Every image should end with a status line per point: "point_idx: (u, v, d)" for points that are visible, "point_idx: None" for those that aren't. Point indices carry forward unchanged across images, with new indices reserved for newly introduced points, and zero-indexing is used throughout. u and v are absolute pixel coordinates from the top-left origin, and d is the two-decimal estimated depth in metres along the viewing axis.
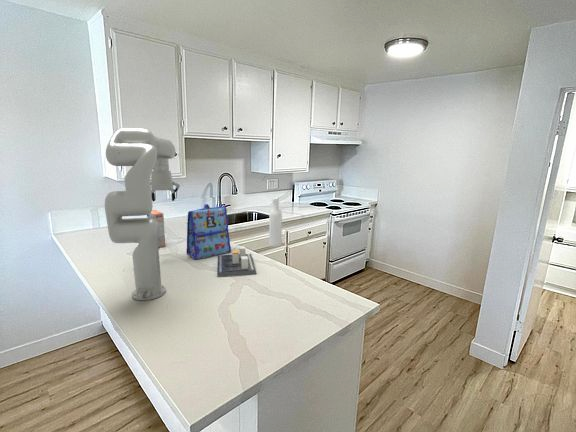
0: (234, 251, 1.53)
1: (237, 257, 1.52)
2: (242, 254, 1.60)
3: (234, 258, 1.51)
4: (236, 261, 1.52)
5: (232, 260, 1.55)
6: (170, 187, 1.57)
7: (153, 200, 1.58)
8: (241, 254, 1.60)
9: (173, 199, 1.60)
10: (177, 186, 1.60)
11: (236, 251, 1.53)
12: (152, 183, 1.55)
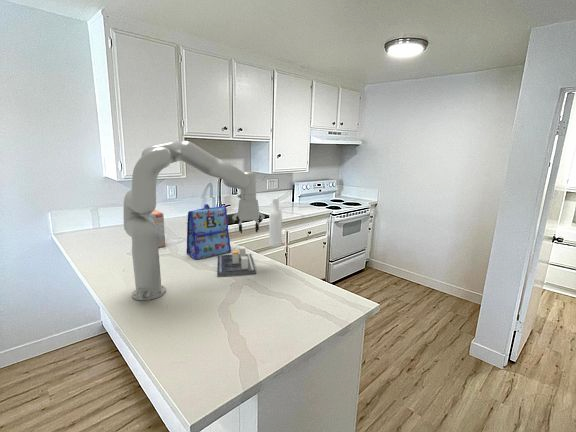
0: (234, 251, 1.53)
1: (237, 257, 1.52)
2: (242, 254, 1.60)
3: (234, 258, 1.51)
4: (236, 261, 1.52)
5: (232, 260, 1.55)
6: (258, 217, 1.49)
7: (241, 232, 1.50)
8: (241, 254, 1.60)
9: None
10: (262, 217, 1.52)
11: (236, 251, 1.53)
12: (240, 213, 1.47)
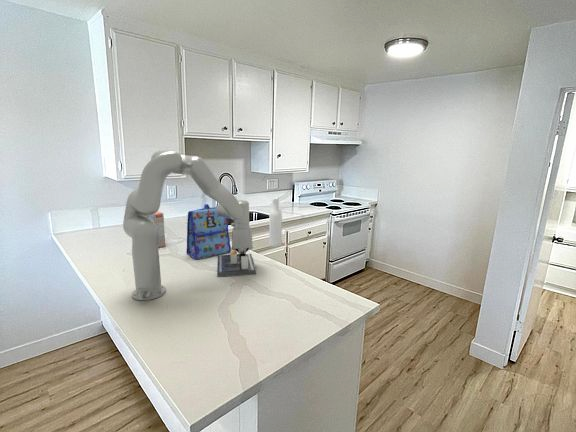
0: (232, 251, 1.53)
1: (235, 257, 1.51)
2: None
3: (233, 258, 1.51)
4: (234, 261, 1.52)
5: None
6: (251, 245, 1.51)
7: None
8: None
9: None
10: None
11: (234, 251, 1.53)
12: (233, 241, 1.49)
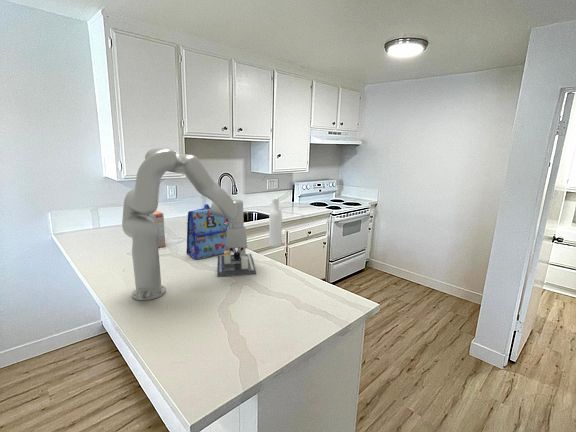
0: (226, 251, 1.52)
1: (229, 258, 1.51)
2: (242, 254, 1.60)
3: (226, 258, 1.51)
4: (228, 262, 1.51)
5: None
6: (245, 244, 1.51)
7: (236, 259, 1.52)
8: (241, 254, 1.60)
9: (238, 258, 1.53)
10: None
11: (228, 251, 1.52)
12: (227, 241, 1.48)
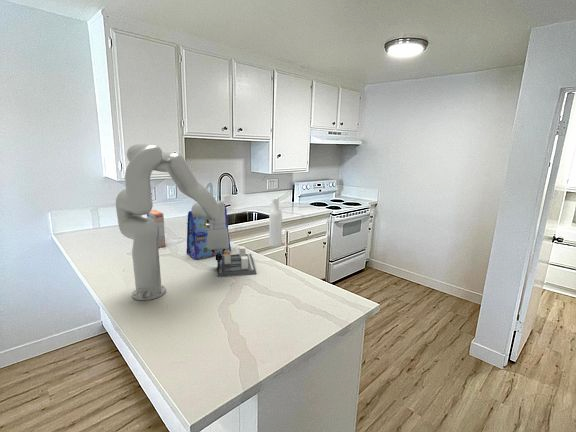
0: (226, 251, 1.52)
1: (229, 258, 1.51)
2: (242, 254, 1.60)
3: (226, 258, 1.51)
4: (228, 262, 1.51)
5: None
6: (227, 246, 1.49)
7: (218, 261, 1.50)
8: (241, 254, 1.60)
9: None
10: None
11: (228, 251, 1.52)
12: (208, 242, 1.47)
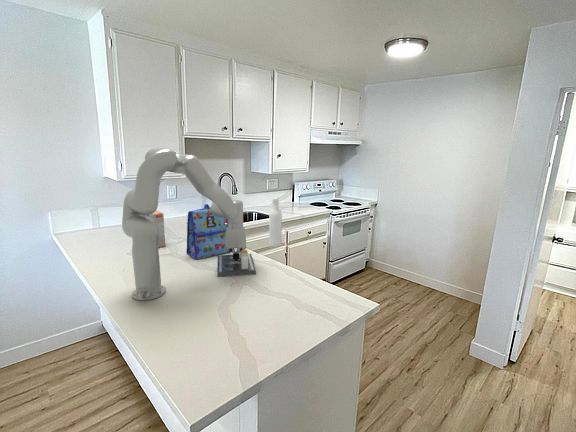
0: (243, 250, 1.54)
1: None
2: None
3: None
4: None
5: None
6: (245, 245, 1.51)
7: (235, 260, 1.52)
8: None
9: (237, 259, 1.53)
10: (244, 247, 1.53)
11: (245, 250, 1.54)
12: (227, 241, 1.48)
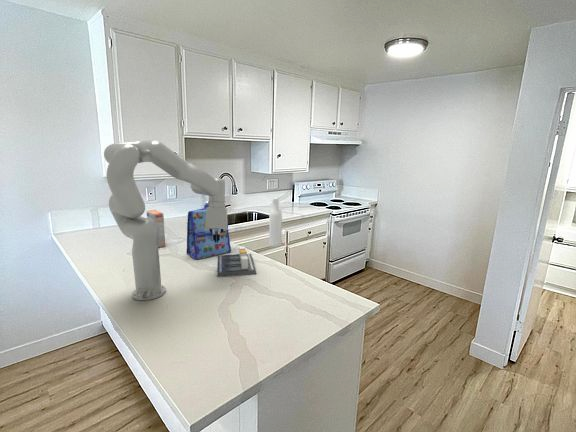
0: (242, 251, 1.54)
1: None
2: None
3: None
4: None
5: (240, 259, 1.56)
6: (225, 226, 1.44)
7: (215, 241, 1.45)
8: None
9: (218, 240, 1.46)
10: (225, 228, 1.46)
11: (244, 251, 1.54)
12: (207, 221, 1.42)
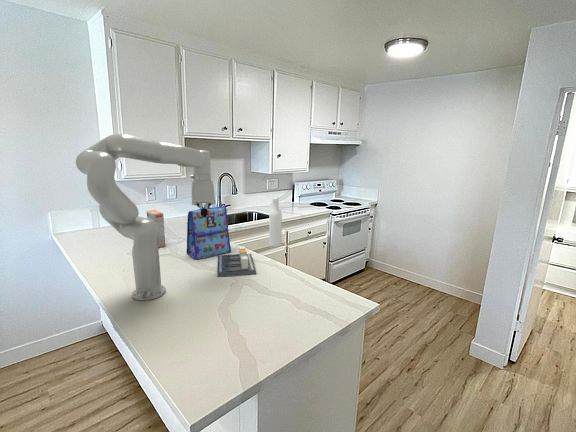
0: (242, 251, 1.54)
1: None
2: None
3: None
4: None
5: (240, 259, 1.56)
6: (213, 199, 1.39)
7: (203, 216, 1.40)
8: None
9: (205, 215, 1.41)
10: (212, 202, 1.41)
11: (244, 251, 1.54)
12: (193, 195, 1.36)
